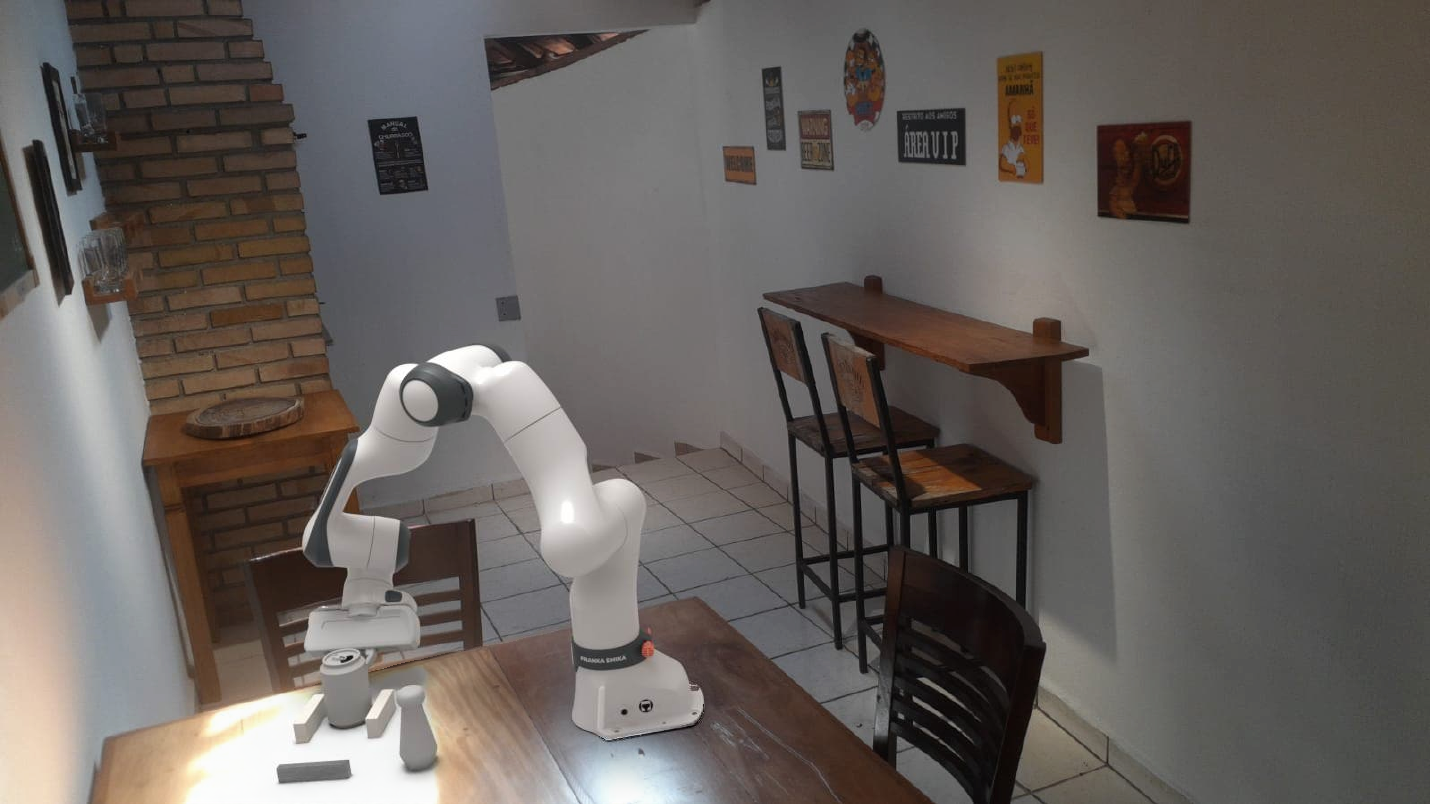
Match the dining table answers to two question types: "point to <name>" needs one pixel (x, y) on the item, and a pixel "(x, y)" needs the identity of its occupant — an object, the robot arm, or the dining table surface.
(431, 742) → the salt shaker
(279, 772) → the end bar
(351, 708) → the can
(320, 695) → the chute
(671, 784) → the dining table surface
